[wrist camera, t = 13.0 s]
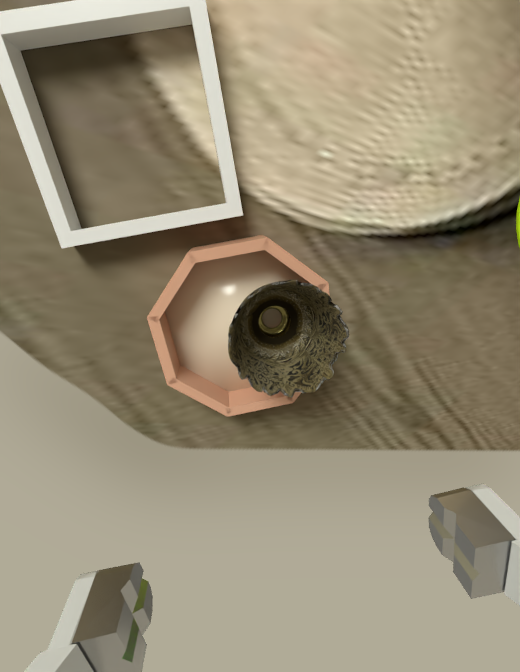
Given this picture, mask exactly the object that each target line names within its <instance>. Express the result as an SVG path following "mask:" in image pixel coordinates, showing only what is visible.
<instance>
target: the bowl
mask: <svg viewBox="0 0 520 672" xmlns="http://www.w3.org/2000/svg"><path fill="white" fill-rule="evenodd" d="M288 280H297V281H298V282H302V283H309V284H312V285H315V286H317V287H318V288H319V289H321V290H322V291H324V292H326V293H327V294H328V295H329V285H328V282H327V281H326V280H324V279H323V278H321V277H320V276H319V275H317V274H316V273H315V272H313V271H312V270H311V269H309V268H308V267H307V266H305V265H304V264H303V263H301V262H300V261H299V260H297V259H296V258H295V257H293V256H292V255H291V254H289V253H288V252H286V251H285V250H284V249H282V248H281V247H280V246H278V245H277V244H276V243H274V242H273V241H272V240H270V239H269V238H268V237H265V236H263V235H259V236H253V237H248V238H242V239H237V240H232V241H226V242H221V243H215V244H210V245H204V246H199V247H194V248H191V249H190V250H189V252H188V253H187V254H186V256H185V258H184V259H183V261H182V262H181V264H180V266H179V267H178V269H177V270H176V272H175V274H174V275H173V277H172V278H171V280H170V282H169V283H168V285H167V286H166V288H165V290H164V291H163V293H162V294H161V296H160V298H159V299H158V301H157V302H156V304H155V306H154V307H153V309H152V310H151V312H150V313H149V315H148V317H147V319H148V323H149V326H150V329H151V333H152V336H153V339H154V342H155V346H156V349H157V352H158V356H159V359H160V362H161V365H162V369H163V372H164V375H165V379H166V382H167V385H169V386H170V387H172V388H174V389H176V390H178V391H180V392H182V393H184V394H186V395H187V396H189V397H191V398H193V399H195V400H197V401H199V402H201V403H202V404H204V405H206V406H208V407H210V408H212V409H214V410H216V411H218V412H219V413H221V414H223V415H225V416H228V417H229V416H233V415H238V414H243V413H248V412H252V411H257V410H262V409H267V408H271V407H276V406H281V405H286V404H291V403H294V401H295V400H296V399H297V398H298V396H299V395H300V394H301V393H302V392H295V393H294V395H293V397H292V398H290V397H288V396H285V395H284V394H283V393H282V392H281V391H279V393H278V394H275V395H273V396H269V395H267V394H266V393H264V392H263V391H262V392H258V391H256V390H255V389H253V388H252V387H251V385H250V383H249V381H248V378H247V377H246V378H247V379H243V380H242V379H241V378H240V377H239V375H238V369H237V367H236V366H235V365H233V363H232V362H231V360H230V358H229V353H228V340H229V337H228V332H229V326H230V324H231V323H232V320H233V318H234V315H235V313H236V311H237V309H238V308H239V306H240V305H241V303H242V302H243V301H244V299H245V298H246V297H247V296H248V295H249V294H250V293H252V292H253V291H254V290H256V289H258V288H260V287H262V286H264V285H267V284H270V283H274V282H279V281H288ZM281 319H282V316H281V313H280V312H279V311H278V310H276V309H273V308H272V309H268V310H266V311H265V312H264V314H263V316H262V320H263V323H264V324H265V325H266V326H267V327H270V328H273V327H276V326H278V325H279V324H280V322H281Z"/></svg>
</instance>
